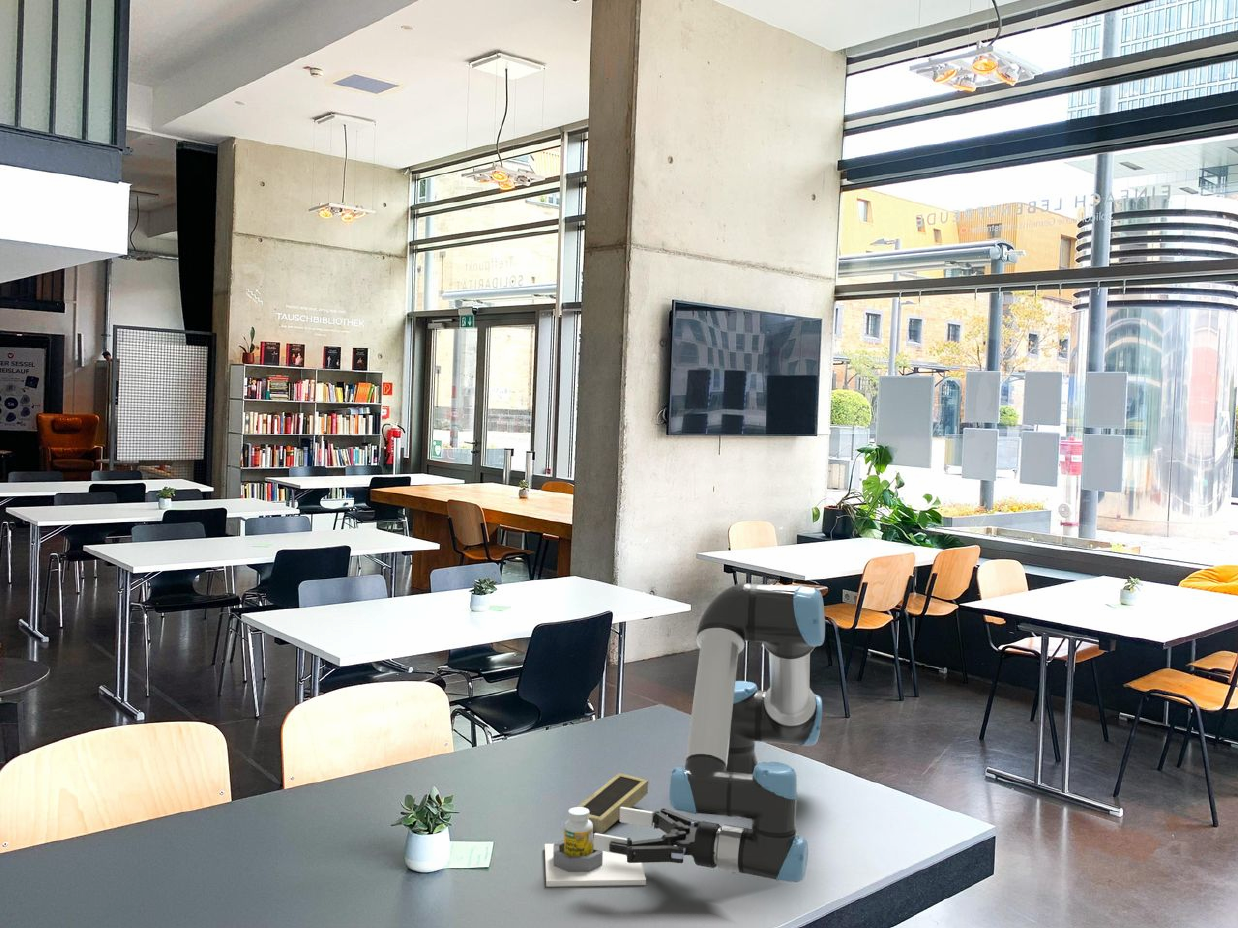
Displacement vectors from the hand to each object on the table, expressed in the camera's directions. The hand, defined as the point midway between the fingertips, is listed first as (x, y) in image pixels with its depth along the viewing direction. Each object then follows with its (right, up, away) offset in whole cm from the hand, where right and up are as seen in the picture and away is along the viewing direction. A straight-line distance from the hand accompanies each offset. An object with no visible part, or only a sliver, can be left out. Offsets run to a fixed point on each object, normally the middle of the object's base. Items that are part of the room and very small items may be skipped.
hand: (607, 826), depth 183 cm
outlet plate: (-3, -8, +3) cm, 9 cm away
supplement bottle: (-6, -7, +2) cm, 10 cm away
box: (-1, -8, +26) cm, 27 cm away
